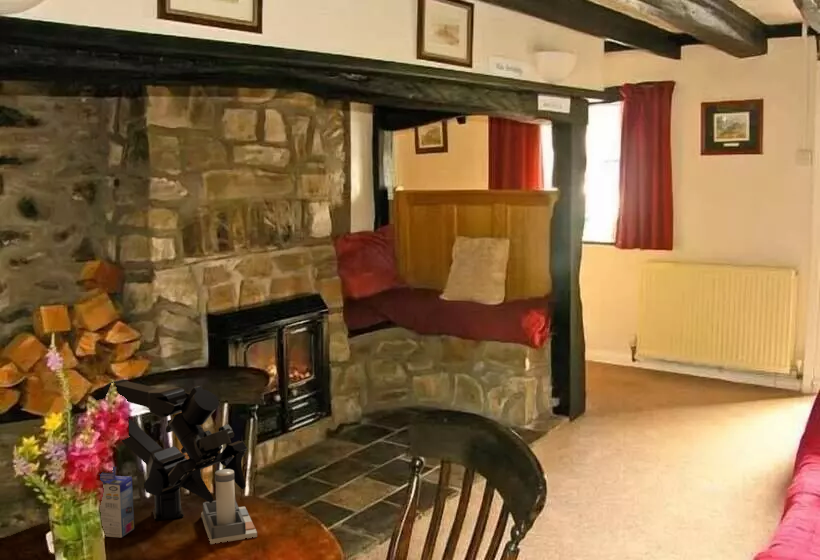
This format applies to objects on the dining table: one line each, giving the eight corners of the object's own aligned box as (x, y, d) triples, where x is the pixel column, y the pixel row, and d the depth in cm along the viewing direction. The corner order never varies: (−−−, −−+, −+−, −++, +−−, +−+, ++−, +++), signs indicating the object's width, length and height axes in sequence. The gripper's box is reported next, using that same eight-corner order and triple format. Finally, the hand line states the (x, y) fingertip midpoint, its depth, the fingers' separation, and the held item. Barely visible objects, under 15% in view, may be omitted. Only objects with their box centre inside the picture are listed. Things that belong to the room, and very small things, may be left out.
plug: (219, 525, 189) (217, 468, 188) (237, 525, 189) (236, 469, 188) (214, 533, 185) (212, 475, 184) (233, 533, 185) (231, 475, 184)
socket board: (201, 516, 197) (200, 502, 196) (245, 510, 200) (244, 496, 200) (210, 544, 183) (209, 528, 182) (257, 536, 186) (256, 521, 186)
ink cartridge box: (136, 528, 191) (132, 465, 189) (123, 539, 186) (119, 474, 184) (96, 525, 193) (92, 463, 191) (82, 535, 188) (78, 472, 186)
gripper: (174, 426, 179) (212, 488, 174) (240, 405, 194) (277, 462, 189) (151, 456, 184) (188, 516, 180) (217, 433, 200) (253, 488, 195)
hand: (228, 494), depth 186 cm, fingers open, 9 cm apart
